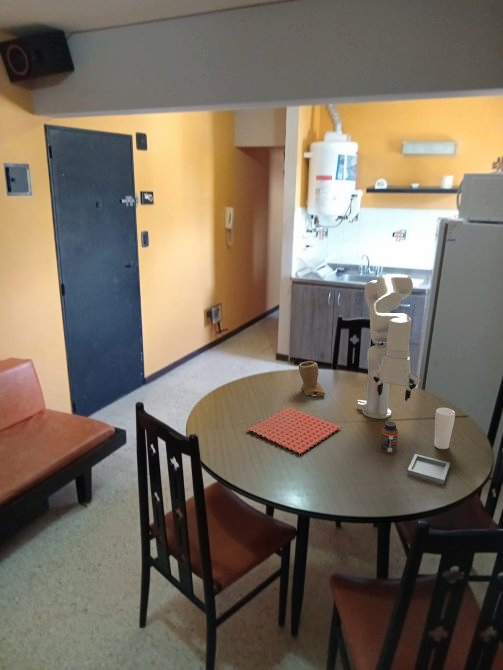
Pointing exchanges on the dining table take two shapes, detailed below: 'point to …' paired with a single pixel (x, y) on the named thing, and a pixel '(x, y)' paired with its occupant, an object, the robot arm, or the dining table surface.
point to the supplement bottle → (389, 438)
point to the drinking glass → (443, 427)
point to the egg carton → (296, 430)
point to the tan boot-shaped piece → (310, 378)
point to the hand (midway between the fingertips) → (393, 396)
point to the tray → (428, 469)
